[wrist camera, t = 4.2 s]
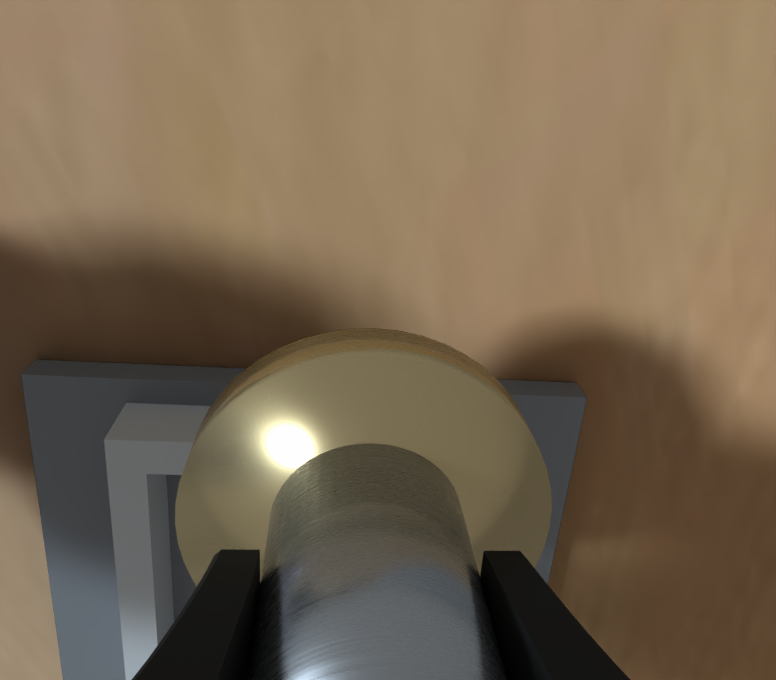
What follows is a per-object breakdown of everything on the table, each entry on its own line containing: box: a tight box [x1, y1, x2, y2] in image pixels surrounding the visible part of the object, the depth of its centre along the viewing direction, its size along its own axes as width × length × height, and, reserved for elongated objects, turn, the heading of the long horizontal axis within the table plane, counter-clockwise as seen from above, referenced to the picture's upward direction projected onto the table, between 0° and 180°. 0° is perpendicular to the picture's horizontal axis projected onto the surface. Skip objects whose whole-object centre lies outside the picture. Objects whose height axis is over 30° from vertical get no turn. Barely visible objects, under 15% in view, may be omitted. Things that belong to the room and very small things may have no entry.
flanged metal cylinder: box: [175, 328, 552, 680], centre depth 11 cm, size 7×7×6 cm
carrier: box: [21, 360, 587, 680], centre depth 23 cm, size 16×18×3 cm
